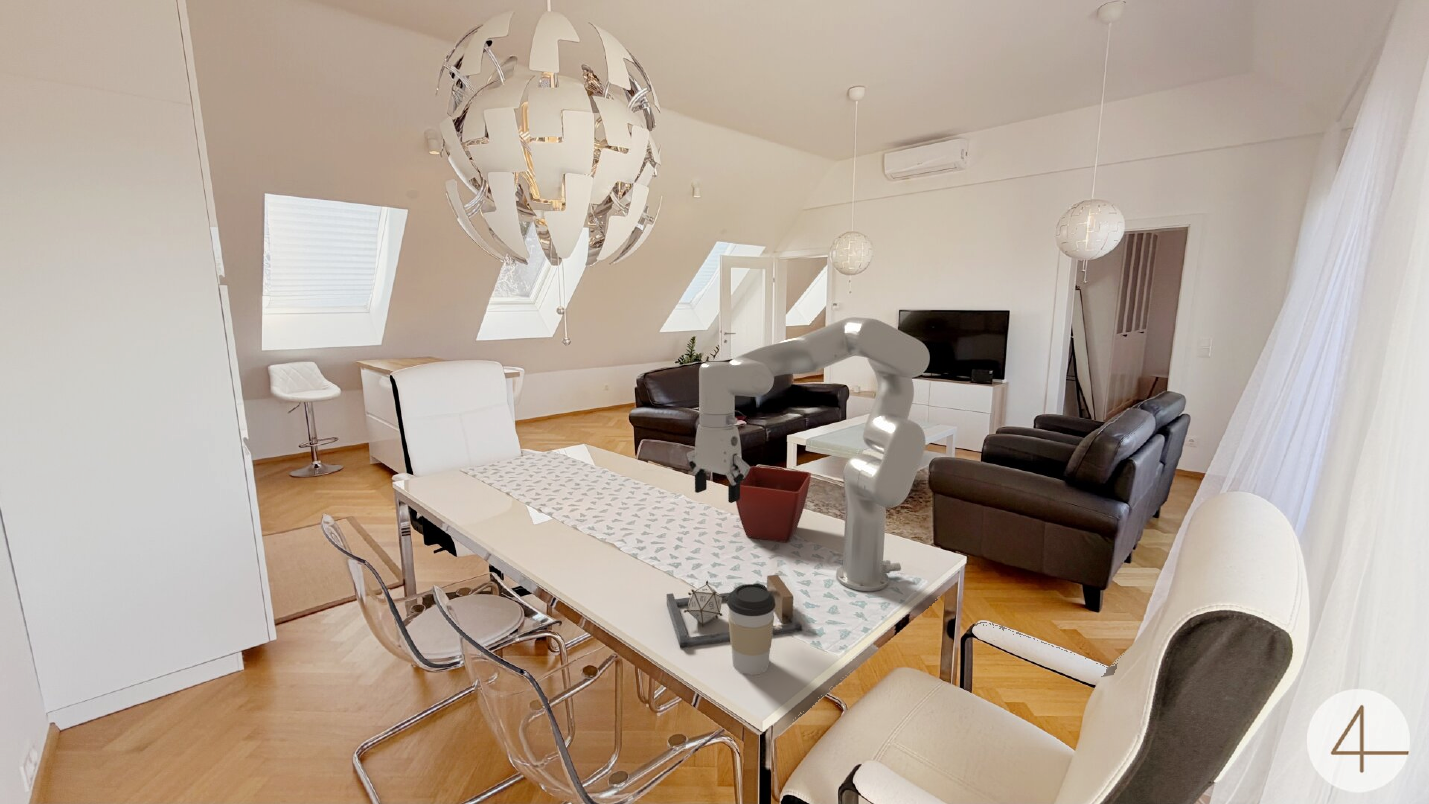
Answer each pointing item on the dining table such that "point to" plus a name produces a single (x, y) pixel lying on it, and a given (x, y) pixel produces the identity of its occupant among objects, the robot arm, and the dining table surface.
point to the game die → (704, 604)
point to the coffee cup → (751, 627)
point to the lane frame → (773, 586)
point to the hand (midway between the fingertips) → (717, 496)
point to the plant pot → (772, 502)
